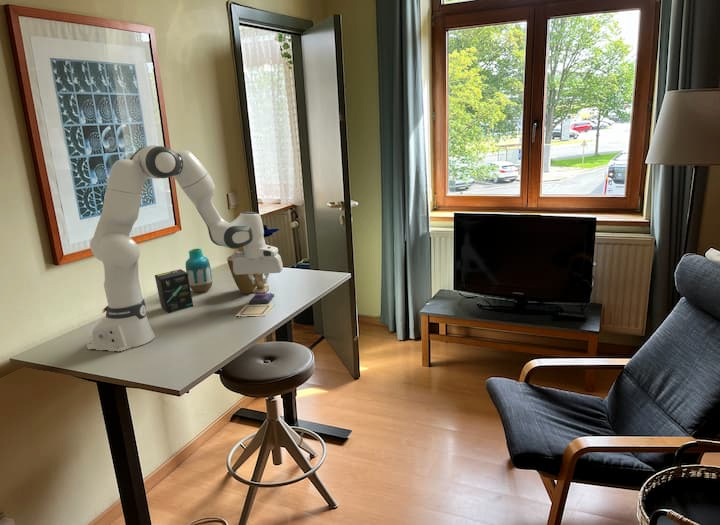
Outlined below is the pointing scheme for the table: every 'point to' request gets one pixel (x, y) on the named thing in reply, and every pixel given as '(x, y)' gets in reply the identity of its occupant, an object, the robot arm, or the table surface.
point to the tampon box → (174, 290)
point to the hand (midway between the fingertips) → (260, 283)
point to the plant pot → (242, 279)
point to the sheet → (255, 310)
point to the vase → (198, 271)
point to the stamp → (260, 285)
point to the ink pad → (261, 298)
